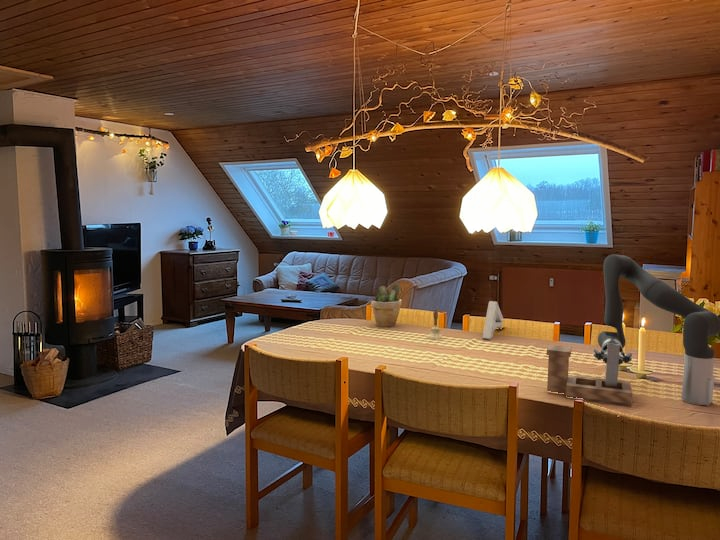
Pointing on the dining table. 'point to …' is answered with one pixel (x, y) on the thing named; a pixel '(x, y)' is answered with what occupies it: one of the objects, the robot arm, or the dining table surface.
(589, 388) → the desk organizer
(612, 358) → the gray rectangular block
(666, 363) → the dining table surface
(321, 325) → the dining table surface
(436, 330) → the hand bell
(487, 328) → the white letter a
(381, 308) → the potted plant
